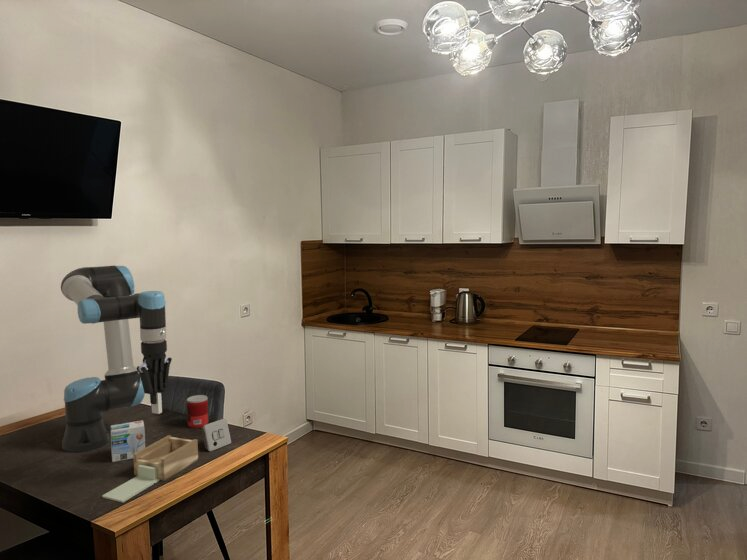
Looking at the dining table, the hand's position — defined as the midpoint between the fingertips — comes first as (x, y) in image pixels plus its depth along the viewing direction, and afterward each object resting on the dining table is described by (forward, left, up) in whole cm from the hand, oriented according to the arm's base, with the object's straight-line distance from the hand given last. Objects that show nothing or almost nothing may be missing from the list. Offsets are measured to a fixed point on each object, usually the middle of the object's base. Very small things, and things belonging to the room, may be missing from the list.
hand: (157, 412), depth 168 cm
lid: (0, -12, -20) cm, 23 cm away
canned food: (-14, +37, -20) cm, 44 cm away
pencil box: (+1, +3, -19) cm, 20 cm away
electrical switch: (+6, +22, -20) cm, 30 cm away
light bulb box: (-18, +6, -20) cm, 28 cm away
